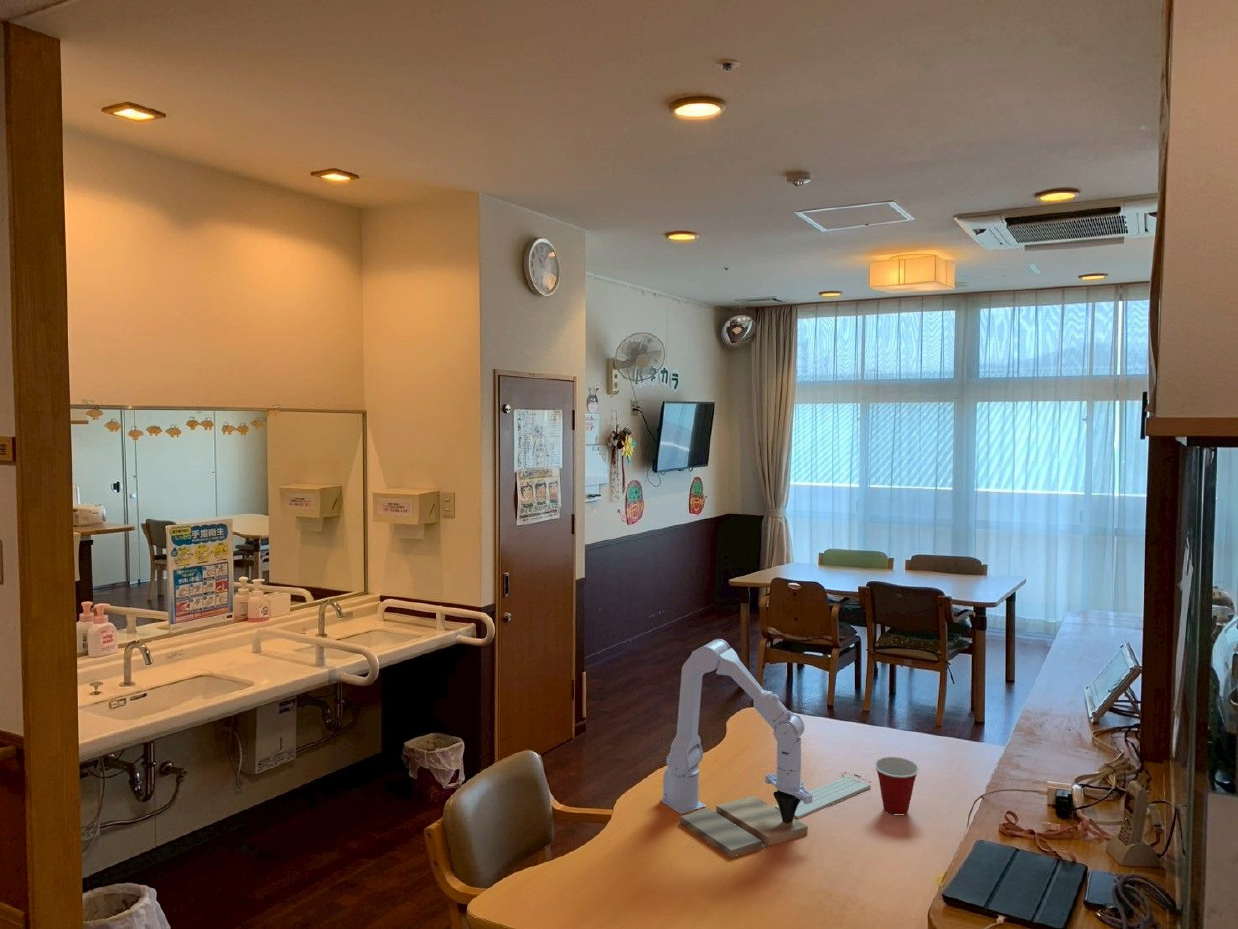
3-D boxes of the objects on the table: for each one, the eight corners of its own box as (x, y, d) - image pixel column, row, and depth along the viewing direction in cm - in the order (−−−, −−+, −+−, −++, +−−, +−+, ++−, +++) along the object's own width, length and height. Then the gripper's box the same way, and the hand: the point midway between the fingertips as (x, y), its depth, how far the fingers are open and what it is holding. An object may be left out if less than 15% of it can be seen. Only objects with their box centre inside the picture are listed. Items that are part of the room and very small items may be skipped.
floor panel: (680, 824, 220) (680, 816, 220) (714, 814, 226) (714, 806, 226) (731, 858, 203) (731, 850, 203) (766, 847, 209) (766, 839, 209)
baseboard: (767, 808, 231) (797, 822, 223) (767, 797, 231) (797, 811, 223) (840, 778, 250) (870, 790, 242) (840, 768, 250) (871, 780, 242)
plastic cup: (870, 816, 225) (871, 769, 224) (875, 799, 235) (876, 754, 234) (916, 824, 221) (917, 776, 220) (919, 806, 231) (920, 760, 230)
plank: (716, 813, 226) (716, 805, 226) (753, 803, 232) (753, 795, 232) (768, 846, 209) (769, 837, 209) (807, 834, 215) (807, 826, 215)
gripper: (822, 773, 212) (821, 830, 213) (780, 753, 225) (780, 806, 226) (800, 780, 209) (799, 837, 210) (759, 759, 221) (758, 813, 222)
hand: (787, 822), depth 217 cm, fingers closed, pressing on plank
